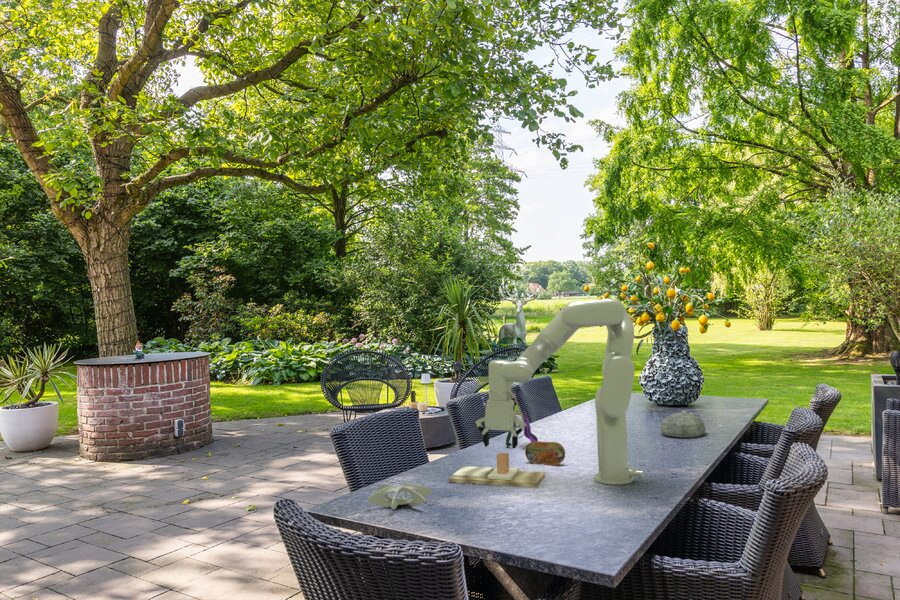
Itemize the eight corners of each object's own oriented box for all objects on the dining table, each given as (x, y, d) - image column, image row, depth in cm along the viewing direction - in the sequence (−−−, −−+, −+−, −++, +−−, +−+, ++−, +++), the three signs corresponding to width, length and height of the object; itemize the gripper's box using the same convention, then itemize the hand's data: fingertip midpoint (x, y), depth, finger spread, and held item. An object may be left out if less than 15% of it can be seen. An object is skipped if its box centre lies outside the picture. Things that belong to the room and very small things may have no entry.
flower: (512, 463, 256) (540, 448, 253) (494, 431, 257) (522, 415, 255) (515, 455, 270) (542, 440, 268) (498, 424, 272) (525, 410, 269)
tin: (525, 463, 234) (524, 440, 234) (528, 461, 237) (527, 439, 237) (564, 466, 227) (563, 443, 227) (566, 464, 230) (565, 441, 230)
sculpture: (397, 493, 200) (396, 473, 200) (444, 504, 187) (444, 482, 188) (356, 508, 186) (355, 486, 187) (404, 520, 174) (404, 497, 174)
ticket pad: (544, 476, 214) (544, 469, 214) (536, 487, 201) (536, 479, 201) (461, 472, 224) (461, 465, 224) (449, 482, 210) (448, 474, 211)
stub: (518, 471, 216) (517, 450, 216) (510, 480, 205) (509, 458, 205) (496, 470, 218) (496, 450, 219) (487, 478, 207) (486, 457, 207)
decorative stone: (651, 434, 279) (650, 412, 279) (685, 429, 288) (684, 407, 288) (681, 441, 263) (680, 417, 263) (716, 435, 272) (715, 412, 272)
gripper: (527, 395, 213) (527, 446, 213) (478, 394, 219) (479, 443, 218) (522, 398, 206) (522, 450, 205) (472, 396, 211) (472, 447, 211)
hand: (500, 446), depth 212 cm, fingers open, 9 cm apart
